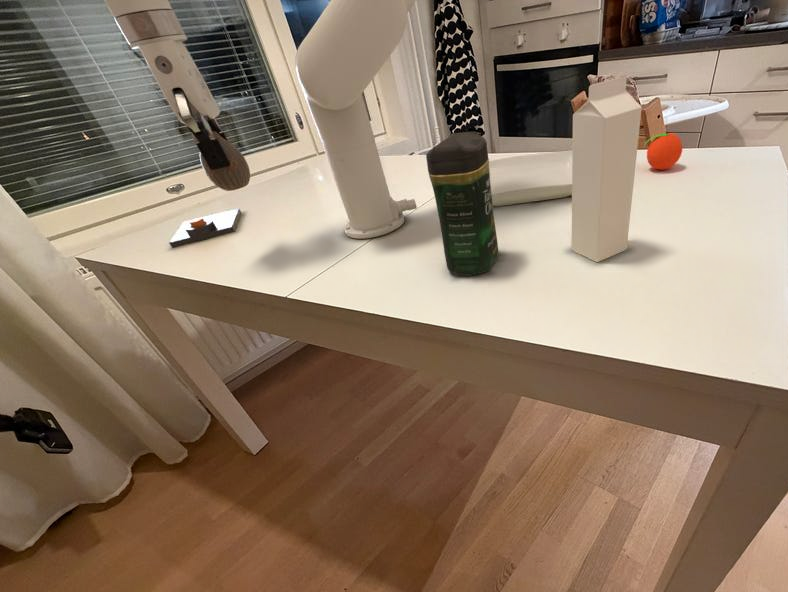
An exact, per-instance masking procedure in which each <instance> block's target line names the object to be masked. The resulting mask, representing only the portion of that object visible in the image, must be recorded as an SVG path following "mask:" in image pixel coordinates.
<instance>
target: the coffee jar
mask: <svg viewBox="0 0 788 592" xmlns="http://www.w3.org/2000/svg"><path fill="white" fill-rule="evenodd" d="M488 152H489V151H488V143H487V140H486V138H485V137H483V136H482V135H480V134H479V133H478V132H477V131H465V132H464V131H463V132H454V133H450V134H449V135H448V136H447V137H446V138H445V139H443V140H441V142H439V143H437V145H435V146H433V147H432V148H431V149H430V150H428V151H427V152H426V154H425V158H426V165H427V172H428V177H429V180H430V183H431V187H432V191H433V195H434V200H435V204H436V205H435V206H436V210H437V215H438V221H439V227H440V228H439V229H440V232H441V239H442V246H443V254H444V259H445V263H446V268H447V270H448V271H449V272H450V273H452V274H456V275H460V276H473V275H477V274H482V273H486V272H488V271H490V269H492V267H493V266H494V264H495V263H496V261H497V258H498V256H499V244H498V236H497V229H496V222H495V221H496V220H495V212H494V206H493V203H492V194H491V185H490V171H489V161H490V159H489V158H490V157H489V153H488Z"/></svg>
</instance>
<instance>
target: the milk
mask: <svg viewBox="0 0 788 592" xmlns="http://www.w3.org/2000/svg"><path fill="white" fill-rule="evenodd" d="M627 79H628V78H627V76H626V75H623V76H619V77H616V78H612V79H608V80H603V81H601V82H597V83H593V84H590V85H589V87H588V96H587V97H588V98H587V99H588V100H587V101H586V102H585V103H584V104H582V105H581V106H580V108H578V109H577V110H576V111H575V112H574V113H573V114H572V149H571V150H572V195H571V246H570V247H571V251H572V252H575V253H576V254H578V255H581V256H583V257H585V258H587V259H590V261H593V262H595V263H599V262H602V261H603V260H607V259H608V258H610V257H613V256H615V255H617V254H620V253H622V252H624V251H627V249H628V241H629V232H630V231H629V230H630V222H631V212H632V203H633V194H634V185H635V184H634V183H635V174H636V165H637V158H638V157H637V156H638V147H639V146H638V145H639V136H640V129H641V128H640V127H641V118H642V109H643V107H642V105H640V104H639V103H638V101H636V99H635V98H634V97H633V96H632V95H631V94H630V93H629V92H628V90H627Z"/></svg>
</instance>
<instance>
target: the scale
mask: <svg viewBox="0 0 788 592" xmlns="http://www.w3.org/2000/svg"><path fill="white" fill-rule="evenodd" d="M242 213H243V212H242V210H241V209H240V207H239V208H234V209H230V210H226V211H222V212H218V213H214V214H210V215H206V216H201V217H200V218H203V219H204V221H205V223H206V224H205V225H203V226H200V227H196V228H192V226H191V225H190V223H189V221H191V220H192V219H191V220H185V221H183V222H182V223H181V225H180V226H179V228H178V229H177V231H176V232H175V234H174V235H173V236H172V238H171V239H170V240H169V242H168V244H169V246H170V247H171V248H172V249H176V248H179V247H182V246H187V245H191V244H194V243H195V244H196V243H198V242H202V241H207V240H211V239H213V238H218V237H221V236H226V235H229V234H233V233H236V231H237V228H238V225H239V222H240V219H241V216H242Z"/></svg>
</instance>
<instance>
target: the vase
mask: <svg viewBox="0 0 788 592" xmlns="http://www.w3.org/2000/svg"><path fill="white" fill-rule="evenodd" d="M212 133H213V135H214V138H215V139H218V141H219V143H220V145H221V146H222V148H223V150H224V152H225V154H226V156H227V158H228V160H229V162H230V166H227V167H223V168H219V169H215V170H211V169H210V168H209V166H208V164H207V163H206V161H205V159H204V157H203V155H202V154H201V152H200V151H199V160H200V164H201V167H202V169H203V172H204V173H205V175H206V176H207V178H208V179H209V181H211V182H212V183H213V185H215V186H216V187H217V188H219V189H221V190H223V191H225V192H231V191H237V190H240V189H243V188H244V187H246V186H248V185H249V183H250V180H251V171H250V167H249V164H248V162H247V160H246V158H245V156H244V155H243V153H242V152H241V151H240V150H239V149H238V148H237V146H235V145H234V144H233V143H231V142H229V140H228V141H226V140H225V139H223V138H222V137H221V136H220V135H219V134H218V133H217V132H215V131H212Z"/></svg>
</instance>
